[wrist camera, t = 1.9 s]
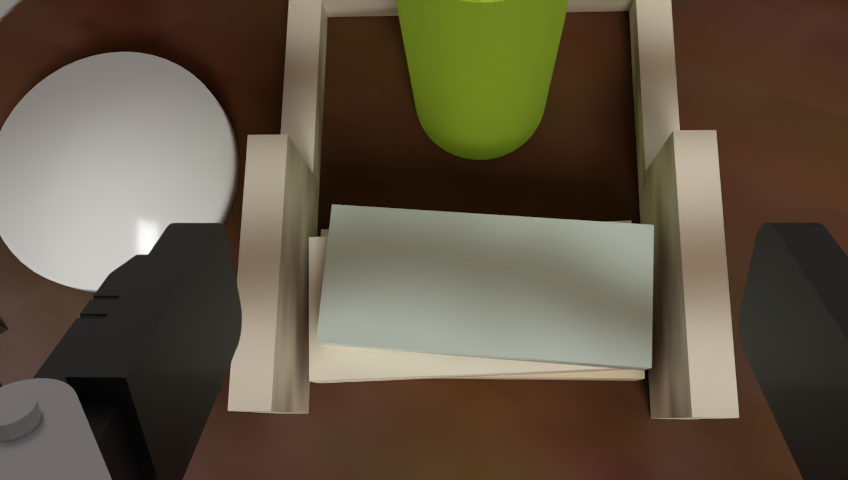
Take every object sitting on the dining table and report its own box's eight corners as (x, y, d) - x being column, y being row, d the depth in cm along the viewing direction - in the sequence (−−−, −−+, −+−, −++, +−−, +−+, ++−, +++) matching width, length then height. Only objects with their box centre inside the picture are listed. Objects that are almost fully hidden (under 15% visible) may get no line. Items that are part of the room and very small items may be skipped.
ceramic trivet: (123, 344, 33) (110, 341, 32) (-45, 194, 35) (-62, 187, 34) (289, 153, 34) (283, 143, 33) (119, 21, 37) (107, 8, 35)
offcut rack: (688, 419, 31) (739, 417, 25) (272, 413, 32) (227, 410, 26) (660, -19, 35) (696, -107, 29) (298, -11, 36) (264, -94, 31)
